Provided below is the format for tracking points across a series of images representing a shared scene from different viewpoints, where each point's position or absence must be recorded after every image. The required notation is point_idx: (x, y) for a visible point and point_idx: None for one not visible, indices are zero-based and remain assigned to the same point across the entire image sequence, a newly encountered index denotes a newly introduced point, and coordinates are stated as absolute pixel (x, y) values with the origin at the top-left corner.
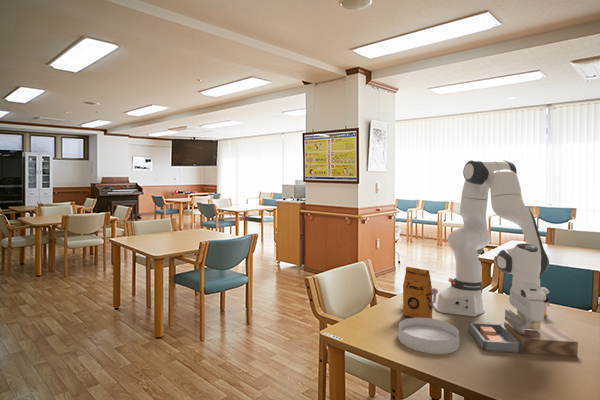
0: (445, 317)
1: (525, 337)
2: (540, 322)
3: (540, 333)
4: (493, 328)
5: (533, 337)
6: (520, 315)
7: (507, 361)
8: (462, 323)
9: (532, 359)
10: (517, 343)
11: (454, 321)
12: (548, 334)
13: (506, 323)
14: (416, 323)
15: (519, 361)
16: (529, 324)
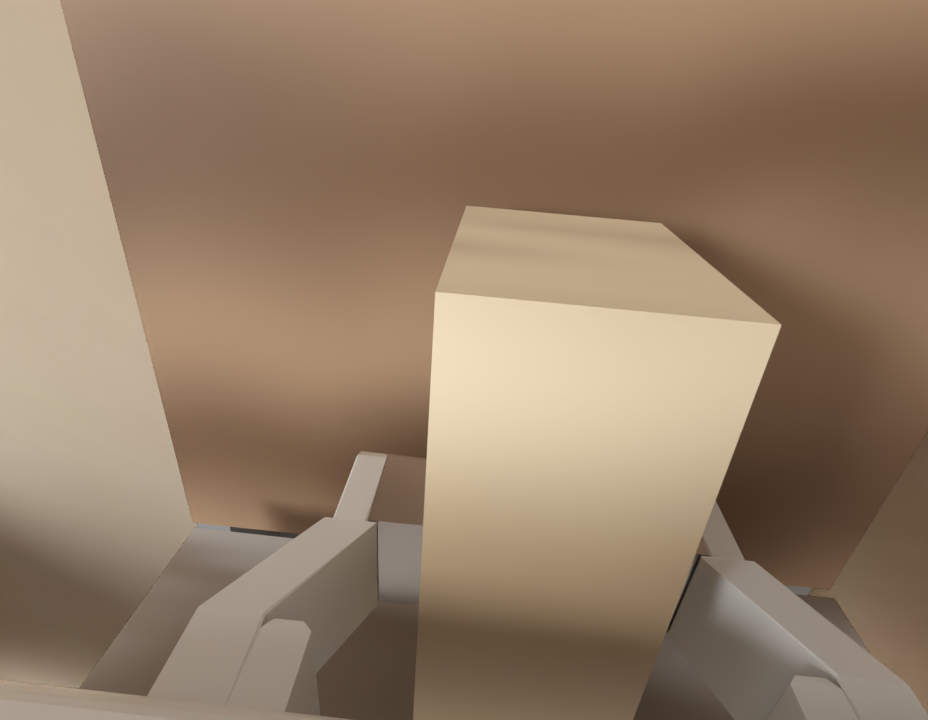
0: (31, 679)
1: (807, 539)
2: (730, 285)
3: (694, 222)
4: (259, 534)
5: (840, 442)
6: (463, 707)
7: (885, 627)
8: (119, 625)
9: (924, 439)
10: (810, 590)
11: (97, 657)
12: (771, 56)
13: (275, 530)
14: None
15: (918, 556)
16: (720, 546)
